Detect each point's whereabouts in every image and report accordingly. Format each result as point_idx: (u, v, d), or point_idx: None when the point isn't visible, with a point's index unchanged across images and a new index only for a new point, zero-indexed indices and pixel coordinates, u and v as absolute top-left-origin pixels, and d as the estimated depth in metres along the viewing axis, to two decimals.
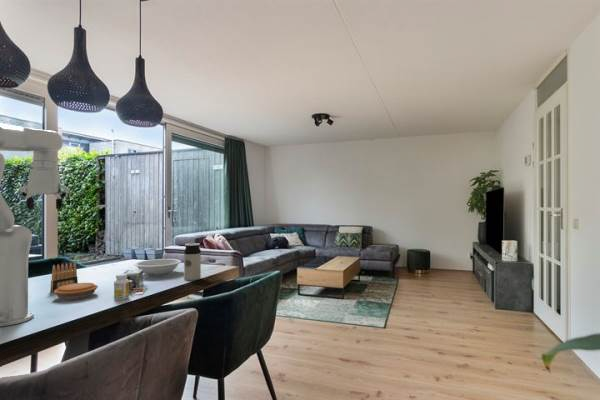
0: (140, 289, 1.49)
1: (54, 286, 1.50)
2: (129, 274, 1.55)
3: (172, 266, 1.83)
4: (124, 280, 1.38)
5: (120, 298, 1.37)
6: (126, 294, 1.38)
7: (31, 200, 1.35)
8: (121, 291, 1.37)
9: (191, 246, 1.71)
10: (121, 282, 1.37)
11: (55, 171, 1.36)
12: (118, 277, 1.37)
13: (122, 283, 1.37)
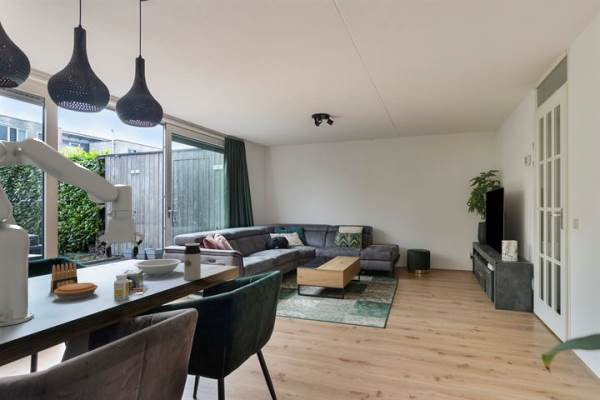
0: (140, 289, 1.49)
1: (54, 286, 1.50)
2: (129, 274, 1.55)
3: (172, 266, 1.83)
4: (124, 280, 1.38)
5: (120, 298, 1.37)
6: (126, 294, 1.38)
7: (110, 249, 1.38)
8: (121, 291, 1.37)
9: (191, 246, 1.71)
10: (121, 282, 1.37)
11: (132, 220, 1.39)
12: (118, 277, 1.37)
13: (122, 283, 1.37)
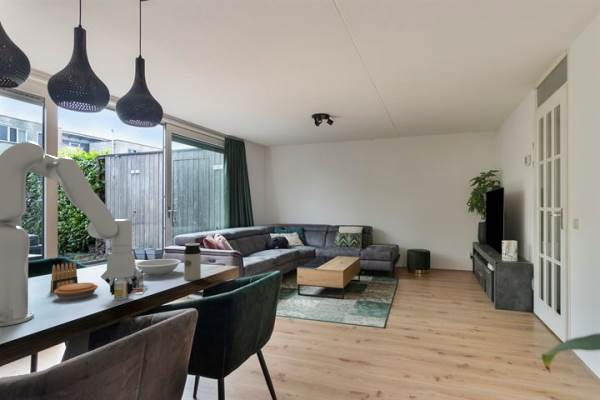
0: (140, 289, 1.49)
1: (54, 286, 1.50)
2: None
3: (172, 266, 1.83)
4: (124, 280, 1.38)
5: (120, 298, 1.37)
6: (126, 294, 1.38)
7: None
8: (121, 291, 1.37)
9: (191, 246, 1.71)
10: (121, 282, 1.37)
11: (132, 255, 1.39)
12: None
13: (122, 283, 1.37)
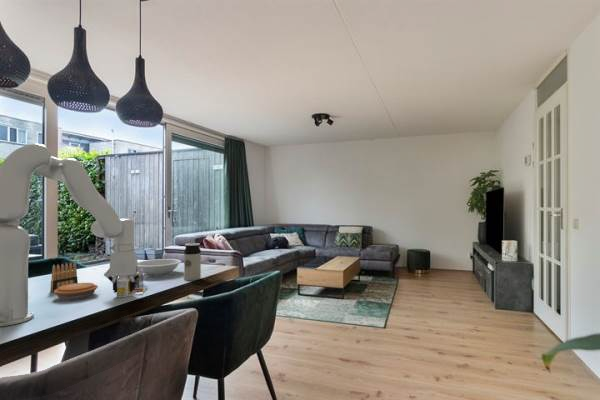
0: (140, 289, 1.49)
1: (54, 286, 1.50)
2: None
3: (172, 266, 1.83)
4: (126, 278, 1.42)
5: (122, 295, 1.40)
6: (129, 292, 1.42)
7: (116, 284, 1.42)
8: (123, 288, 1.40)
9: (191, 246, 1.71)
10: (123, 280, 1.41)
11: (134, 253, 1.42)
12: None
13: (124, 280, 1.41)
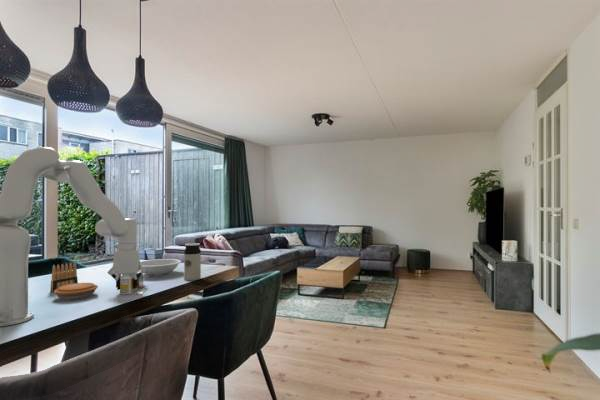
0: (142, 287, 1.53)
1: (54, 286, 1.50)
2: None
3: (172, 266, 1.83)
4: (129, 276, 1.46)
5: (125, 292, 1.45)
6: (131, 289, 1.47)
7: (119, 281, 1.47)
8: (126, 286, 1.45)
9: (191, 246, 1.71)
10: (126, 277, 1.45)
11: (137, 252, 1.47)
12: None
13: (127, 278, 1.45)
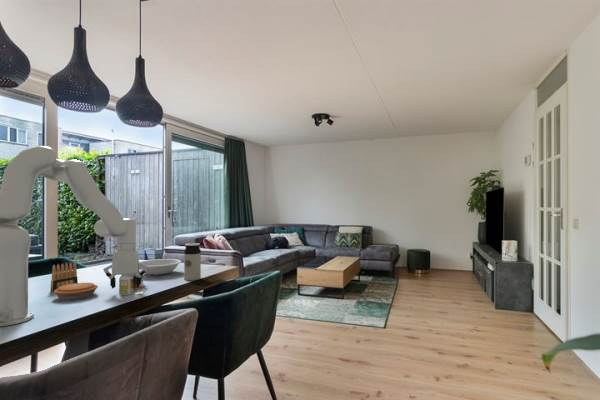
0: (142, 287, 1.53)
1: (54, 286, 1.50)
2: None
3: (172, 266, 1.83)
4: (129, 276, 1.45)
5: (125, 293, 1.44)
6: (131, 289, 1.46)
7: (114, 279, 1.45)
8: (126, 286, 1.44)
9: (191, 246, 1.71)
10: (126, 278, 1.44)
11: (136, 252, 1.46)
12: None
13: (127, 279, 1.44)
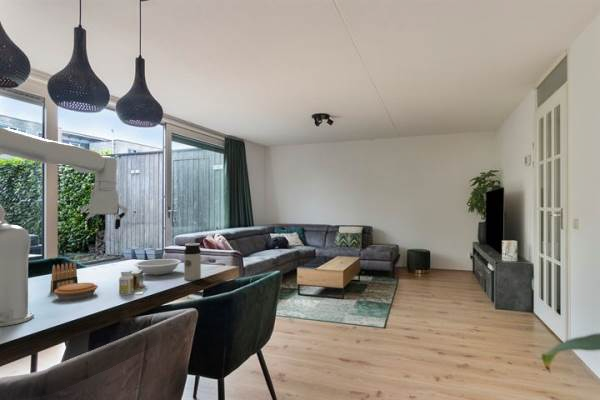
0: (142, 287, 1.53)
1: (54, 286, 1.50)
2: None
3: (172, 266, 1.83)
4: (129, 276, 1.45)
5: (125, 293, 1.44)
6: (131, 289, 1.46)
7: (91, 220, 1.37)
8: (126, 286, 1.44)
9: (191, 246, 1.71)
10: (126, 278, 1.44)
11: (115, 192, 1.38)
12: (123, 273, 1.45)
13: (127, 279, 1.44)
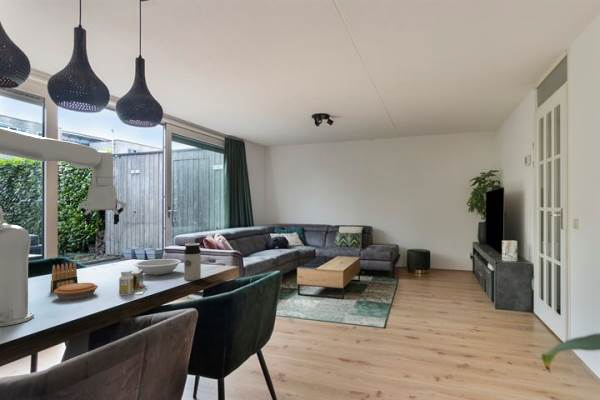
0: (142, 287, 1.53)
1: (54, 286, 1.50)
2: None
3: (172, 266, 1.83)
4: (129, 276, 1.45)
5: (125, 293, 1.44)
6: (131, 289, 1.46)
7: (90, 216, 1.36)
8: (126, 286, 1.44)
9: (191, 246, 1.71)
10: (126, 278, 1.44)
11: (113, 187, 1.37)
12: (123, 273, 1.45)
13: (127, 279, 1.44)
